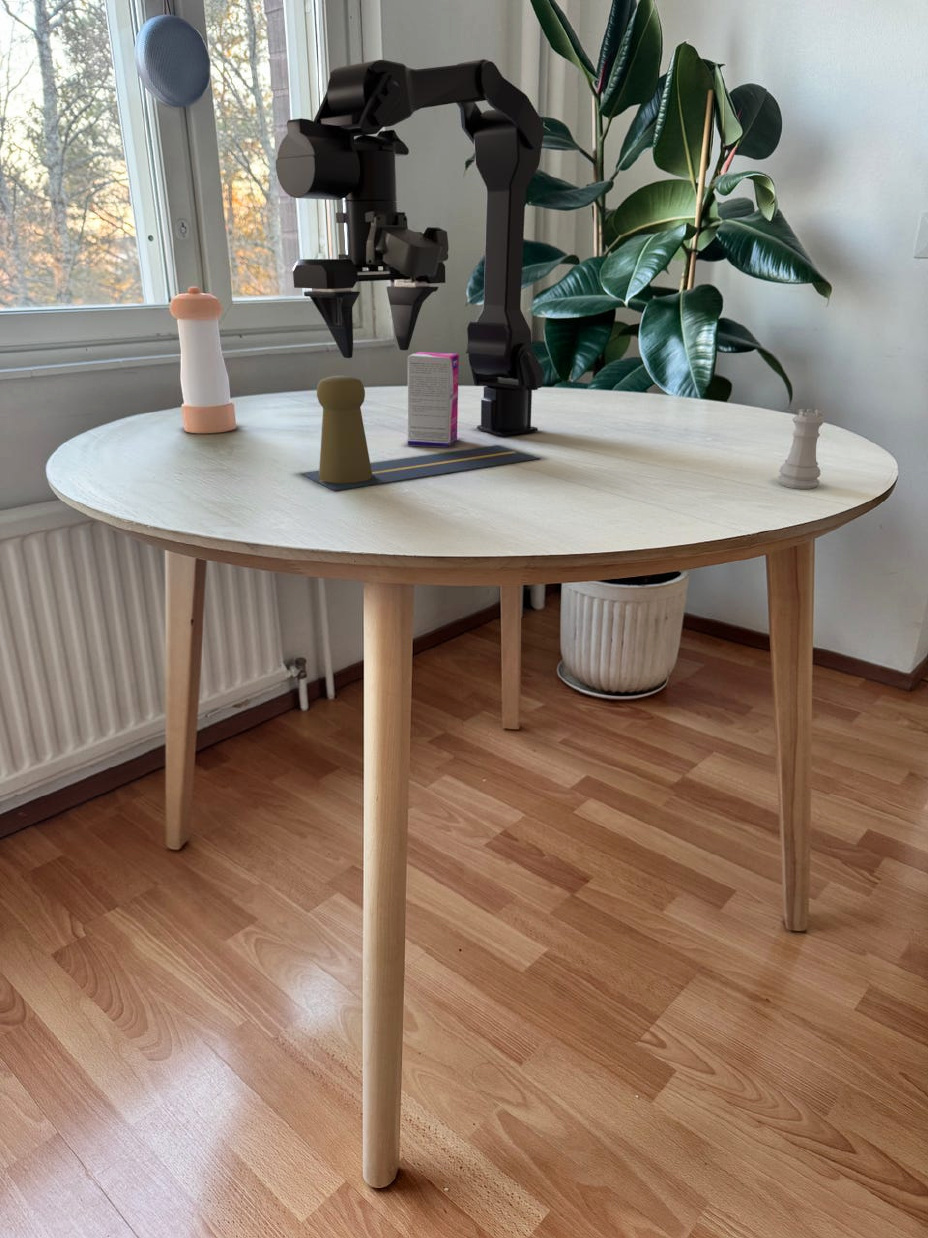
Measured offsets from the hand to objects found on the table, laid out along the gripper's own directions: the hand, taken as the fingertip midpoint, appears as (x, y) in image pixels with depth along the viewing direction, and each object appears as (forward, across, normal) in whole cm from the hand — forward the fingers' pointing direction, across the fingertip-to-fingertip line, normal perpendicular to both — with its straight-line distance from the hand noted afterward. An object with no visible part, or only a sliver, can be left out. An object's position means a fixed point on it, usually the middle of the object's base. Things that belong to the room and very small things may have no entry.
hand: (376, 353), depth 95 cm
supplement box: (+13, +13, +3) cm, 19 cm away
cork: (+13, -8, -2) cm, 15 cm away
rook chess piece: (+13, +22, -43) cm, 50 cm away
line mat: (+13, +2, -5) cm, 14 cm away
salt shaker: (+13, 0, +35) cm, 37 cm away
